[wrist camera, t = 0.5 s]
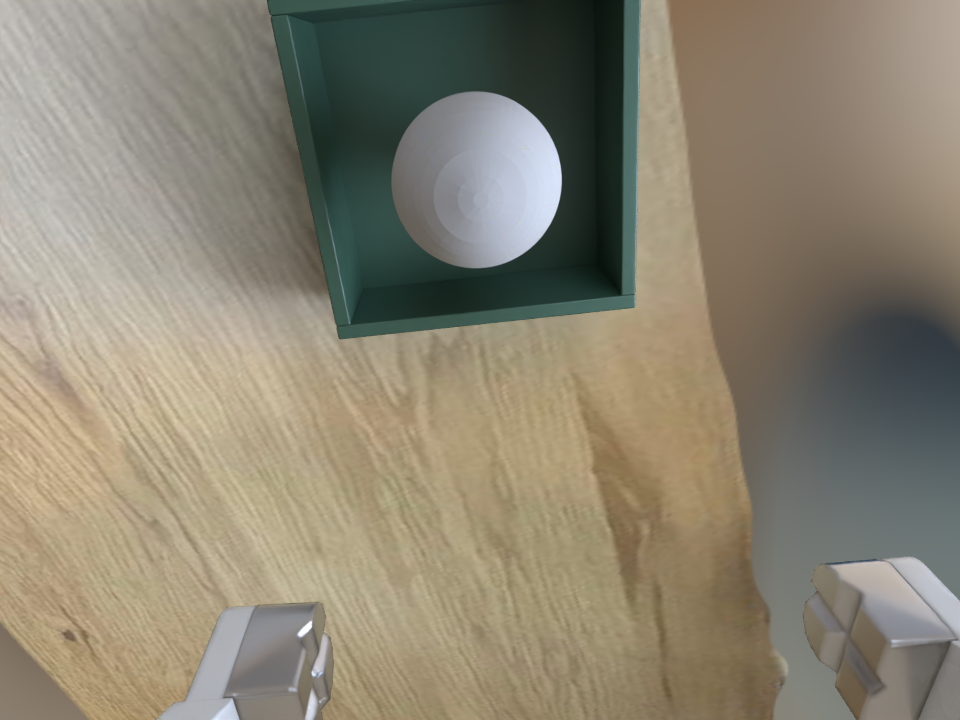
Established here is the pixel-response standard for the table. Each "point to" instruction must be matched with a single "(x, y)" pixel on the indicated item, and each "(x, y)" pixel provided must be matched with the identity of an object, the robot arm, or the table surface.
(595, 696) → the table surface
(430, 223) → the light bulb
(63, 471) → the table surface
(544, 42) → the green open square box
